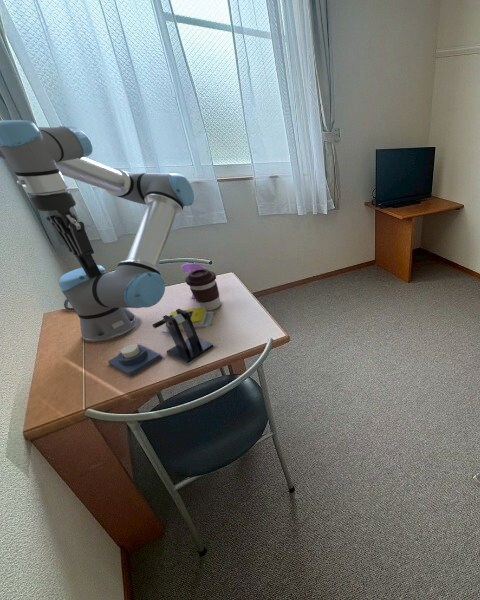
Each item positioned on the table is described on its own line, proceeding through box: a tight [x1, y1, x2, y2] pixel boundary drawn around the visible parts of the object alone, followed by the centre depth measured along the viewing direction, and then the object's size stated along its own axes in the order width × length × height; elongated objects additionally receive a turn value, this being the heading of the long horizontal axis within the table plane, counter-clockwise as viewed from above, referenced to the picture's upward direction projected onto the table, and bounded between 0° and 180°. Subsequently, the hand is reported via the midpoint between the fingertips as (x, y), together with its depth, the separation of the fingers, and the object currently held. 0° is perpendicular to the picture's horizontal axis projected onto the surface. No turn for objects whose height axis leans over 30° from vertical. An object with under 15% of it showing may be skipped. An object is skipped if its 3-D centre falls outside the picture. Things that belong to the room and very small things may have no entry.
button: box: [120, 344, 140, 358], centre depth 96 cm, size 4×4×2 cm
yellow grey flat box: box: [162, 307, 214, 333], centre depth 116 cm, size 9×4×15 cm
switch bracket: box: [162, 308, 214, 364], centre depth 100 cm, size 10×9×15 cm
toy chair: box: [181, 262, 205, 299], centre depth 131 cm, size 8×9×15 cm
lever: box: [151, 314, 185, 329], centre depth 99 cm, size 12×6×2 cm, turn 64°
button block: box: [107, 344, 163, 377], centre depth 98 cm, size 11×9×4 cm
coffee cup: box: [184, 268, 221, 311], centre depth 122 cm, size 10×10×15 cm
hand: (94, 275), depth 91 cm, fingers closed
